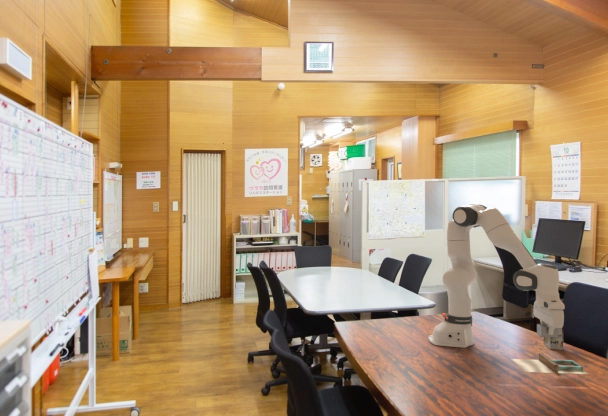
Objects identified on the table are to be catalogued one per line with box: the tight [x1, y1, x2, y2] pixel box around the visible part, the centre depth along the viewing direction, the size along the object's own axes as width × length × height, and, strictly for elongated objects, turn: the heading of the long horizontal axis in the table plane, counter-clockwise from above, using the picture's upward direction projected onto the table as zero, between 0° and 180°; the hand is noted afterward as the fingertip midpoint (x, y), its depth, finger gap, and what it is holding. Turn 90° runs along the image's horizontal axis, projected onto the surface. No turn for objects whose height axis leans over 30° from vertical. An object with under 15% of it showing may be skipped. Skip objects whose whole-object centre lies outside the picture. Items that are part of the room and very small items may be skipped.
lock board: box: [510, 352, 589, 375], centre depth 187 cm, size 26×15×4 cm, turn 85°
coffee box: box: [543, 323, 564, 351], centre depth 214 cm, size 9×6×16 cm
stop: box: [536, 323, 558, 338], centre depth 186 cm, size 4×7×4 cm, turn 85°
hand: (547, 332), depth 186 cm, fingers closed on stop, 4 cm apart
